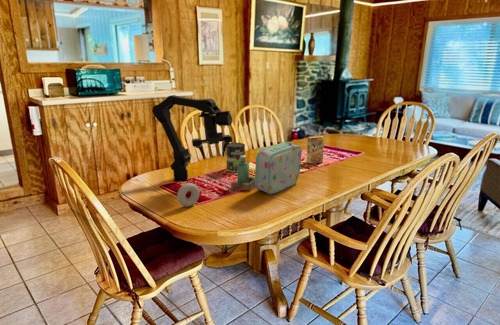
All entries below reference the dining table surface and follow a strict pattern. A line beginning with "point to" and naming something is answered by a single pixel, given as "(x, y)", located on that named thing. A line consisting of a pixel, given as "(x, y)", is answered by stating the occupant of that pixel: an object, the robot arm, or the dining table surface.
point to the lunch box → (277, 167)
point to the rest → (244, 185)
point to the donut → (193, 197)
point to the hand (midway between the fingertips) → (213, 158)
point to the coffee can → (234, 155)
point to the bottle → (243, 170)
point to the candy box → (315, 149)
